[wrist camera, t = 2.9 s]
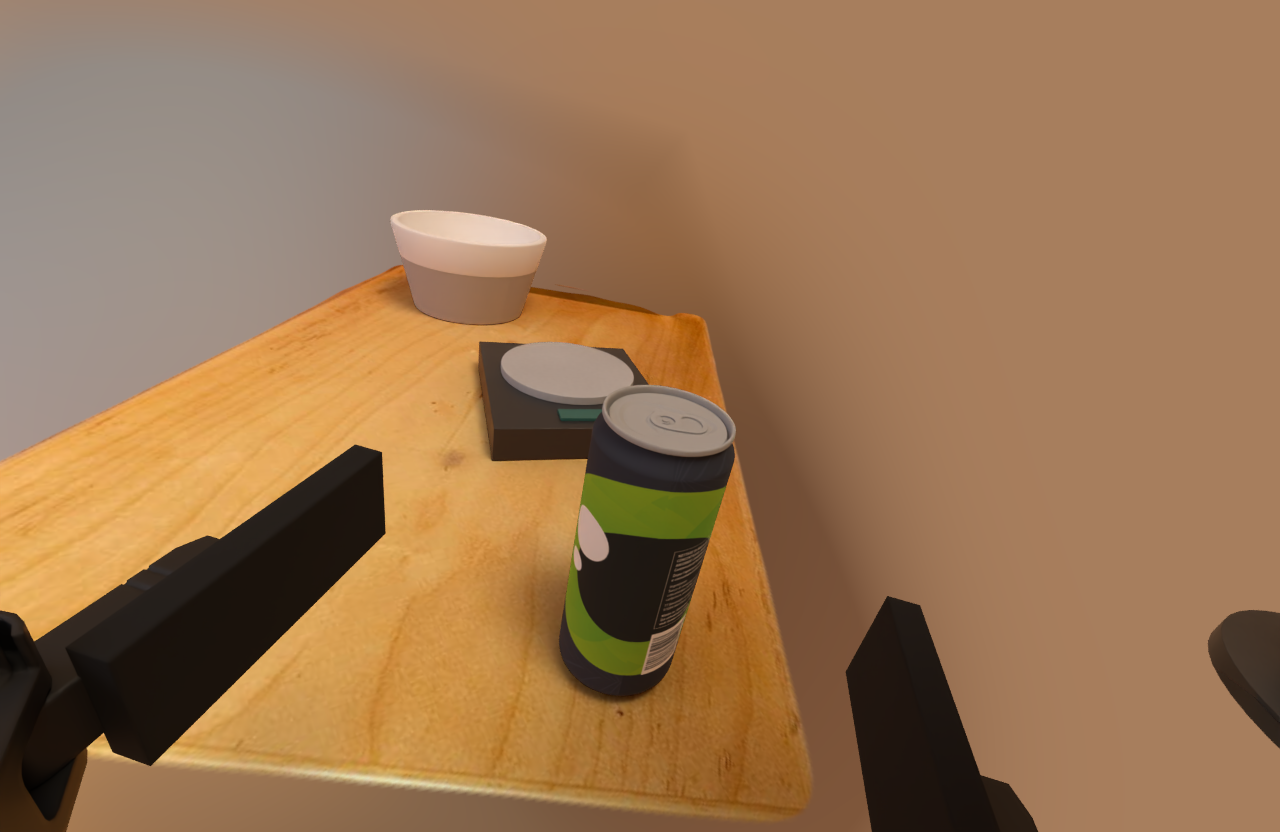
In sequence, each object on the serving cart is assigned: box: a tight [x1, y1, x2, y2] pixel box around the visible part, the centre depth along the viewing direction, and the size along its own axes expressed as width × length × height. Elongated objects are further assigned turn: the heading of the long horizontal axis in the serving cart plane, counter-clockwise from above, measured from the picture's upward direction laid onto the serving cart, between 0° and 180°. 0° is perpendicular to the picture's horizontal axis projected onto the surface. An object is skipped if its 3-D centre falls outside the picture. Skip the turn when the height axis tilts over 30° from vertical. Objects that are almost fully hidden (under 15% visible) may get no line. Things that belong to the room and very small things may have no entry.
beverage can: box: [559, 385, 736, 696], centre depth 26 cm, size 6×6×15 cm
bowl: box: [390, 210, 547, 325], centre depth 72 cm, size 19×19×11 cm
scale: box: [478, 342, 649, 461], centre depth 52 cm, size 16×18×4 cm
